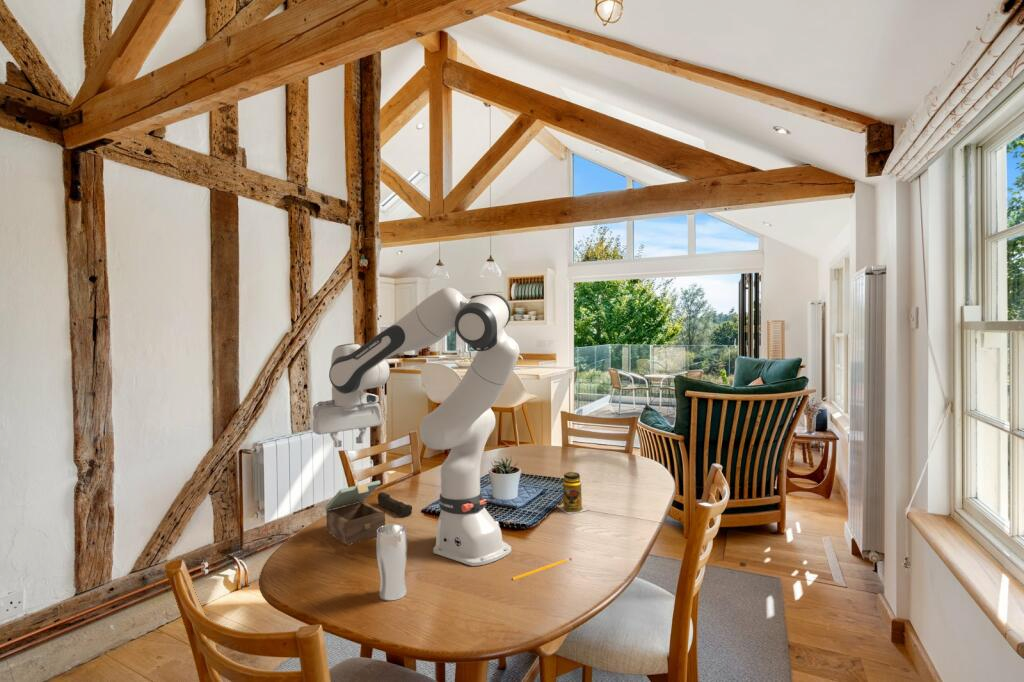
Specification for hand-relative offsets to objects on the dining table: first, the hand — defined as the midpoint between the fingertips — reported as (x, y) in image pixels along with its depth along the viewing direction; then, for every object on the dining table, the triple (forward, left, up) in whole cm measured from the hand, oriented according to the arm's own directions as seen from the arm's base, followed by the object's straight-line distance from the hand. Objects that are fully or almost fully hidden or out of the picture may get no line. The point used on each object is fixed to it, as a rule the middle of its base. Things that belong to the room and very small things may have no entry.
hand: (348, 444), depth 149 cm
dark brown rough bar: (+11, -19, -28) cm, 35 cm away
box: (+1, -2, -27) cm, 27 cm away
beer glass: (-39, +8, -27) cm, 48 cm away
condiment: (-32, -63, -27) cm, 76 cm away
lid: (+1, -2, -18) cm, 18 cm away
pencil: (-55, -25, -28) cm, 67 cm away
